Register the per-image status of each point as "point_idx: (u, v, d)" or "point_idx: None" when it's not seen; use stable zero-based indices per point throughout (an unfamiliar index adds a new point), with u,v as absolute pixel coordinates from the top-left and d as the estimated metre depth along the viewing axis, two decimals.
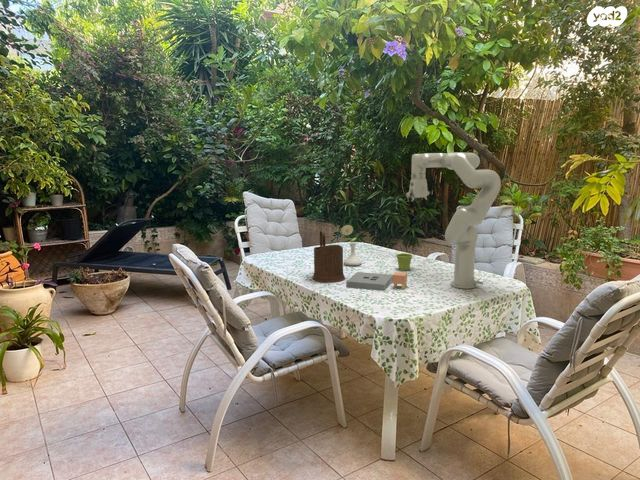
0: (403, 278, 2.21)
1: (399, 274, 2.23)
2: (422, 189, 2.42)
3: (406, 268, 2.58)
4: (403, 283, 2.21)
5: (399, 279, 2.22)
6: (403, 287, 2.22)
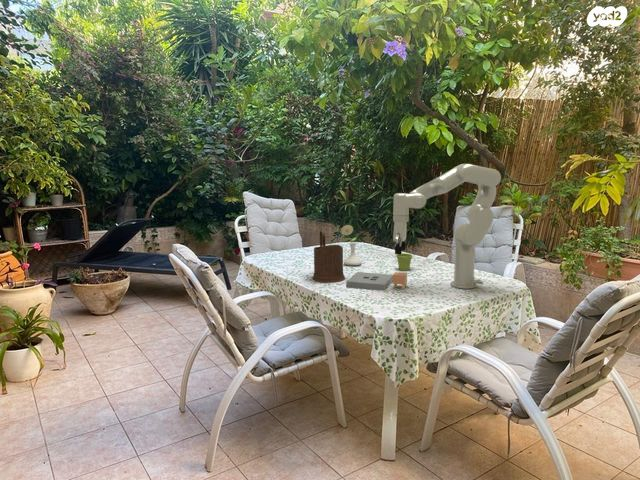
0: (403, 278, 2.21)
1: (399, 274, 2.23)
2: None
3: (406, 268, 2.58)
4: (403, 283, 2.21)
5: (399, 279, 2.22)
6: (403, 287, 2.22)
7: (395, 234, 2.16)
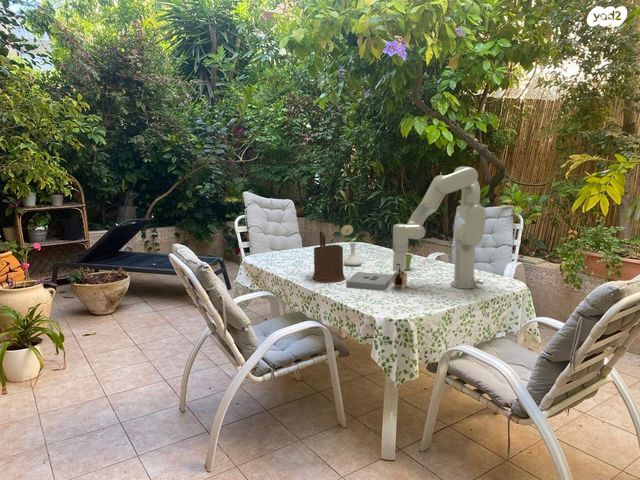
0: (403, 278, 2.21)
1: None
2: None
3: (406, 268, 2.58)
4: (403, 283, 2.21)
5: None
6: (403, 287, 2.22)
7: (395, 265, 2.19)
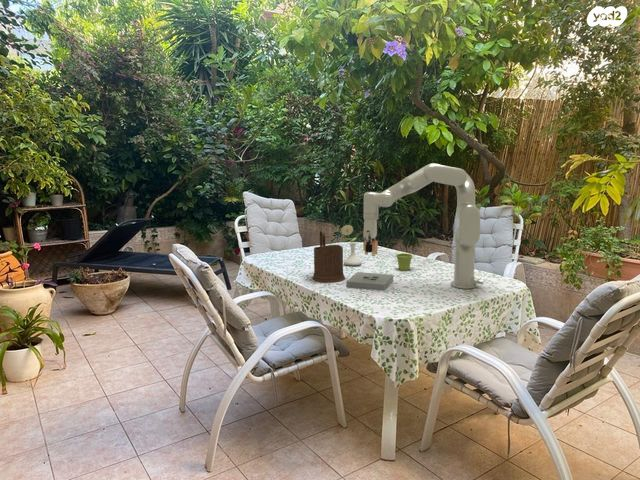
0: (373, 245, 2.26)
1: None
2: None
3: (406, 268, 2.58)
4: (373, 250, 2.26)
5: None
6: (373, 254, 2.27)
7: (365, 231, 2.24)
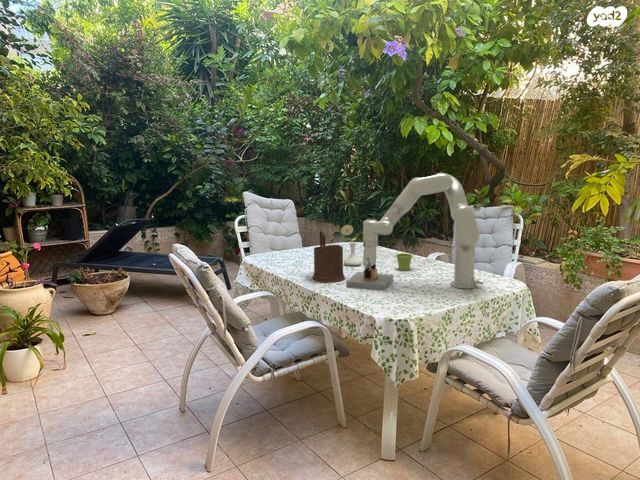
0: (373, 274, 2.28)
1: None
2: None
3: (406, 268, 2.58)
4: (373, 278, 2.29)
5: None
6: None
7: (365, 259, 2.27)
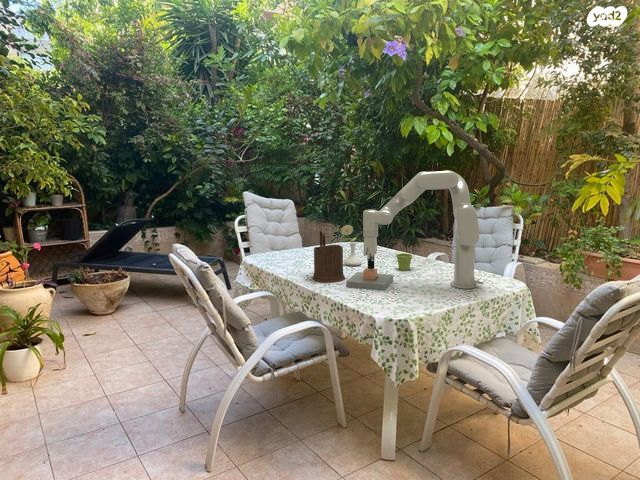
0: (373, 274, 2.28)
1: (369, 270, 2.31)
2: None
3: (406, 268, 2.58)
4: (373, 278, 2.29)
5: (369, 275, 2.29)
6: None
7: (365, 249, 2.26)
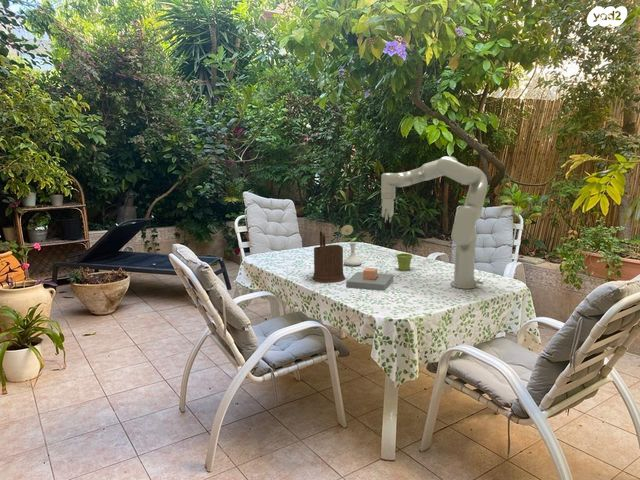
0: (373, 274, 2.28)
1: (369, 270, 2.31)
2: None
3: (406, 268, 2.58)
4: (373, 278, 2.29)
5: (369, 275, 2.29)
6: None
7: (383, 210, 2.37)
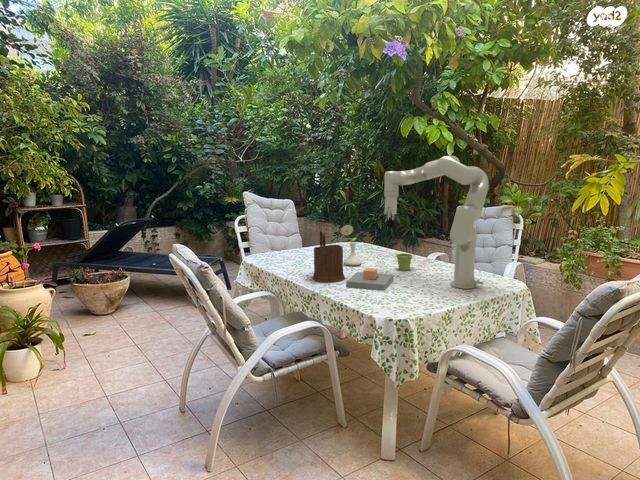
0: (373, 274, 2.28)
1: (369, 270, 2.31)
2: None
3: (406, 268, 2.58)
4: (373, 278, 2.29)
5: (369, 275, 2.29)
6: None
7: (386, 208, 2.39)
